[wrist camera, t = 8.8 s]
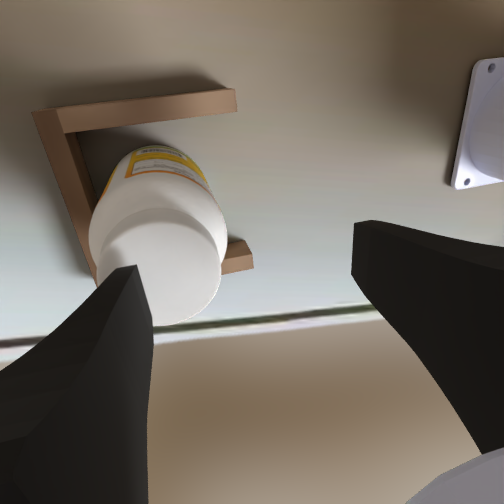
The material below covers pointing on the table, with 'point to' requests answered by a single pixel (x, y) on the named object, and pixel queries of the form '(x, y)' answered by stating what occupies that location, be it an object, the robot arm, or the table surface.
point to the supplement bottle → (161, 231)
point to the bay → (114, 115)
